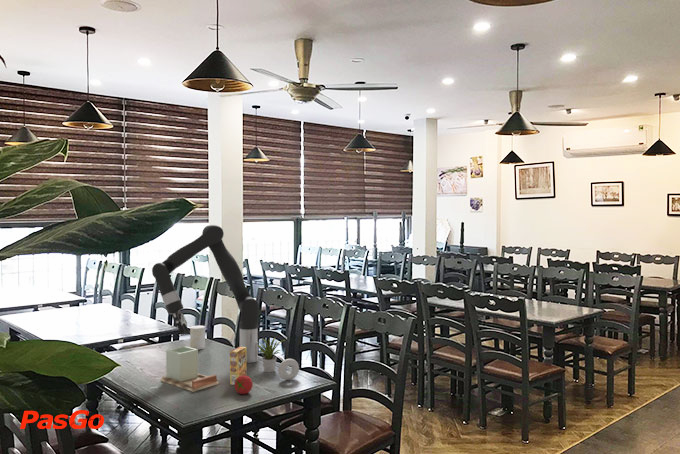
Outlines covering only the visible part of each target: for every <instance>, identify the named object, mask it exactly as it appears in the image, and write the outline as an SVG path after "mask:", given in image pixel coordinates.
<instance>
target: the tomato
mask: <svg viewBox="0 0 680 454" xmlns="http://www.w3.org/2000/svg"><path fill="white" fill-rule="evenodd" d="M253 386H254V385H253V380H252V378H251V377H250V376H249V375H247V376H245V375H242V376H239V377H238V378H237V379H236V380H235V384H234V390H235V392H237V393H238V394H241V395H246V394H249V392H251V391H252V388H253Z"/></svg>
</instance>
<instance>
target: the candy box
mask: <svg viewBox="0 0 680 454" xmlns="http://www.w3.org/2000/svg"><path fill="white" fill-rule="evenodd" d="M246 362H247V360H246V347H240V346H238V347H236V348H234V349H232V350H229V385H231V386H232V385H234V384H235V380H236V379H237V378H238V377H239V376H242V375H245V376H248V375H247V370H248V369H247V364H248V363H246ZM234 386H235V385H234Z"/></svg>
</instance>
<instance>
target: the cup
mask: <svg viewBox="0 0 680 454" xmlns="http://www.w3.org/2000/svg"><path fill="white" fill-rule="evenodd" d="M189 329H190V330H189V336H190V338H189V341H190V342H189V343H190V344H189V347H190V348H194V349H198V351H199V350H203V349H205V348H206V326H205V325H192V326H190V327H189Z"/></svg>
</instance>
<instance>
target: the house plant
mask: <svg viewBox="0 0 680 454" xmlns="http://www.w3.org/2000/svg"><path fill="white" fill-rule="evenodd" d="M262 340H263V341H264V342H265V346H264V344H263V343H262V342H260V341H258V340H257V342H258V343H259V344H260V345H259V344H258V348H259V349H258V351H259V352H260V353H263V354H261V356H263V357H261V360H262V366H263V367H262V368H263V372H265V373H271V372H275V370H276V363H277V356H274V355H276V354H280V352H279V351H281V349H276V348H277V347H278V346H279V345H280V343H282V342H284V341H286V340H285V339H283V340H280V341H279V340H276V337H274V338H273V339H272V340H270V339H268V341H267V340H266V339H264V338H262ZM270 341H271V342H270ZM275 349H276V350H275Z"/></svg>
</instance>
